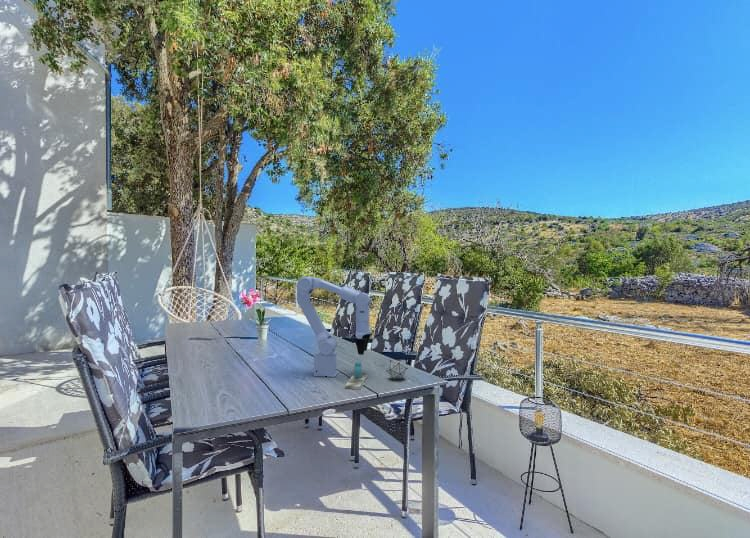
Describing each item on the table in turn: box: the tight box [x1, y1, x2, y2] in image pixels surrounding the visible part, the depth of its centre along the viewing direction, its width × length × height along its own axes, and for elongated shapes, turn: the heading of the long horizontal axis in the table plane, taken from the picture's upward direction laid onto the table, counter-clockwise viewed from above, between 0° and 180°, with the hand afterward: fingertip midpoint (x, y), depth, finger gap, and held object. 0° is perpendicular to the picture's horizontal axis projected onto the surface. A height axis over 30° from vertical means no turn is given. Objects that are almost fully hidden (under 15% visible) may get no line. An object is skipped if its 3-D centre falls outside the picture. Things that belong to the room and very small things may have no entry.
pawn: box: [353, 360, 363, 379], centre depth 164 cm, size 3×3×7 cm
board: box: [344, 373, 369, 390], centre depth 162 cm, size 6×18×1 cm, turn 172°
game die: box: [385, 358, 409, 381], centre depth 166 cm, size 9×8×10 cm
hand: (362, 352), depth 172 cm, fingers open, 7 cm apart
